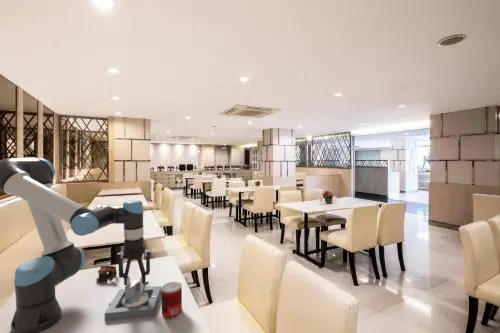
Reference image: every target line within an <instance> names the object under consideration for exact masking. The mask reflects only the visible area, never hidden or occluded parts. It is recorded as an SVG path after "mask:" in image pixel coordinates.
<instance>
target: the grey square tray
mask: <svg viewBox="0 0 500 333" xmlns="http://www.w3.org/2000/svg"><path fill="white" fill-rule="evenodd" d="M161 289H162V286H161V285H157V286H145V293H147V294H148V296H149V302H148V304H147V305H146V306H136V307H124V308H122V306H120V305H122V299H123V298H124V297H125V288H120V289H119V290H118V292H117V293H116V295H115V296H114V298H113V299H112V301H111V302H110V303H111V304H110V303H109V304H110V305H109V304H108V307H107V308H106V310H105V312H104V322H105V321H115V320H127V319H137V318H149V317H154V315H155V312H156V310H157V307H156V306H158V304H157V303H159V301H158V300H160V298H159V297H161ZM155 309H156V310H155Z"/></svg>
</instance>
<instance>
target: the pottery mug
mask: <svg viewBox="0 0 500 333" xmlns="http://www.w3.org/2000/svg"><path fill="white" fill-rule="evenodd" d="M97 273H98V277H97V278H96V284H108V281H113V279H114V278H115V276H117V274H118V273H117V266H115V265H102V266H100V268H99V270H98V271H97Z"/></svg>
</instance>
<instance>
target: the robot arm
mask: <svg viewBox="0 0 500 333" xmlns="http://www.w3.org/2000/svg"><path fill="white" fill-rule="evenodd" d="M55 176H56V169H55V166H54V165H53V163H51V162H50V161H49V160H47V159H45V158H42V157H35V156H31V157H18V158H17V157H14V158H13V157H8V158H4V159H1V160H0V191H1V192H2V193H4V194H6V195H9V196H13V195H14V196H17V197H18V198H21V200H24V201H26V202H27V204H28V207H29V210H30V213H31V214H32V215H31V216H32V219H33V221H34V224H35V226H36V230H37V234H38V236H39V238H40V241H41V244H42V247H43V251H42V252H41V254H40V257H35V258H33V259H30V260H29V259H28V260H27V261H25V262H24V263H23V262H22V264H19V266H18V267H16V269H15V271H14V280H13V282H14V290H15V291H14V292H15V293H14V294H15V311H14V314H13V317H12V321H11V323H10V332H12V333H36V332H37V333H40V332H43V331H45V330H47V329H48V328H49V329H50V327H52V326H54V325H55V324H57V323H58V322H59V321H60V320H61V318H62V316H63V314H62V313H63V312H62V308H61V305H60V304H59V302H58V299H57V298H56V286H58V285H60V284H61V283H63V282H64V281H66V280H67V279H69V278H71V277H73V276H74V275H76V274H77V273H78V272H79V271H81V270H82V268H83V266H84V265H85V259H86V257H85V253H84V251H83V250H82V249H81V248H79V247H78V246H75V244H74V242H72V241H70V240H69V239H68V236H67V233H66V231H65V227H64V225H63V222H65V223H66V224H69V225H70V229H71V230H72V232H73V233H74V235H76V236H79V237H80V236H81V237H82V236H87V235H90V234H93V233H94V232H96V231H99V230H101V229H103V228H105V227H108V226H109V225H112V224H116V225H118V224H120V225H121V224H123V239H124V240H123V241H124V242H123V243H124V244H123V245H124V248H123V251H121V252H117V255H116V258H117V261H118V278H123V282H124V283H123V285H124V286H125V287H126V286H127V285H129V284H130V283H131V276H130V275H129V273H130V272H129V271H130V268H131V263H132V261H134V260H135V261H137V263H138V264H137V265H138V267H139V271H140V273H141V274H140V276H139V277H140V293H141V292H142V291H143V284H145V282H147V281H146V280H147V279H146V276H148V275H150V272H151V254H152V250H151V249H146V248H145V244H144V243H145V238H144V234H145V233H144V205H143V202H142V201H141V200H138V199H132V200H131V199H130V200H126V201H124V202H123V203H122V205H118V204H117V205H114V204H113V205H110V204H103V205H102V204H101V205H100V204H99V205H97V206H96V207H95V208H94V209H93V210H91V209H89V208H87V207H85V206H83V205H81V204H80V203H78V202H76V201H74V200H73V199H70V198H68V197H67V196H65V195H63V194H61V193H60V192H58V191H56V190H54V189H52V187H53V185H54V182H53V180H54V179H55ZM62 221H63V222H62ZM143 255H145V256H146V257H145V262H146V263H145V266H144V262H143V257H142V256H143ZM124 257H125V258H127V259H126V265H125V270H124V259H123V258H124Z"/></svg>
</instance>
